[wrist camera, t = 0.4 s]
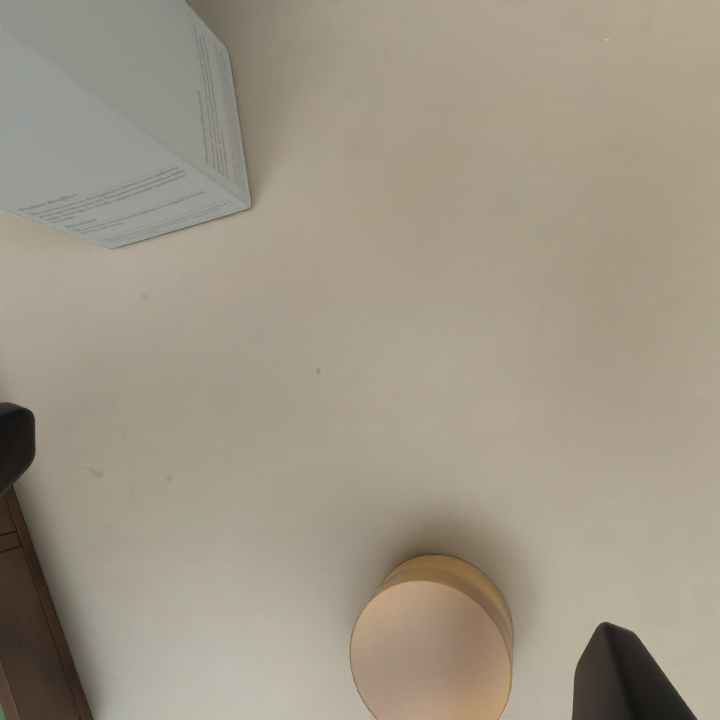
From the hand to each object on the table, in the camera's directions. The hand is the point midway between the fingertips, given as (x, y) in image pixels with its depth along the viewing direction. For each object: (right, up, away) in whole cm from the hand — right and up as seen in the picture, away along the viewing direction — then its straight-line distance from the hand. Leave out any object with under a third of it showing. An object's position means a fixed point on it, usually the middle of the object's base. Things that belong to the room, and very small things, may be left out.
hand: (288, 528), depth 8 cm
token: (+4, -7, +12) cm, 14 cm away
